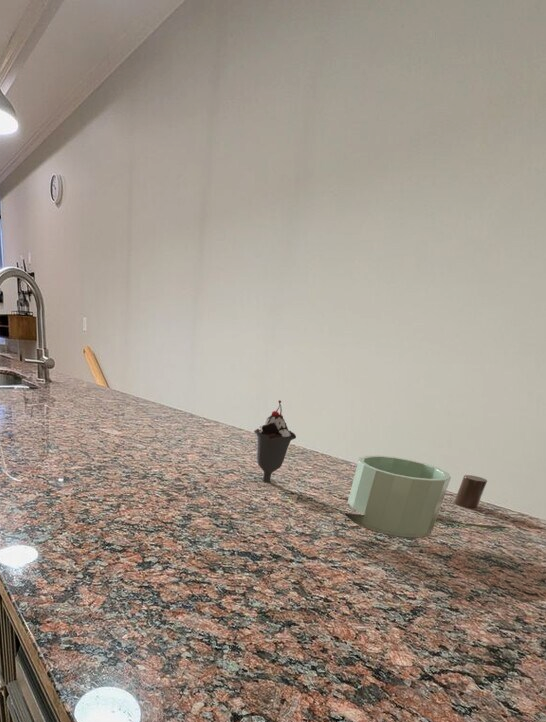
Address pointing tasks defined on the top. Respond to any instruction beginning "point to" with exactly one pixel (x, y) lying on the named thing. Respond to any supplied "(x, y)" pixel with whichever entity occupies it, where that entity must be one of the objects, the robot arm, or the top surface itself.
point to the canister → (397, 495)
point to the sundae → (272, 443)
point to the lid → (472, 495)
